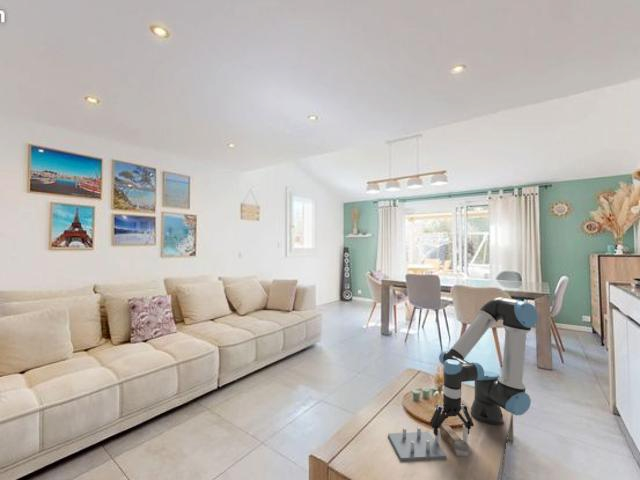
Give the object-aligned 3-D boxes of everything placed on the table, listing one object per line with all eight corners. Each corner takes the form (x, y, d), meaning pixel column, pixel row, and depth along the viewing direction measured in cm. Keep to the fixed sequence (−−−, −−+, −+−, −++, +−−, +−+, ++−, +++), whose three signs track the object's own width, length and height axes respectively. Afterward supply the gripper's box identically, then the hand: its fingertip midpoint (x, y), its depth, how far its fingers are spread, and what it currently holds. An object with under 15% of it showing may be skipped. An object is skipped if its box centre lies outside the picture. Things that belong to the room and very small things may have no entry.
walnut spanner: (438, 433, 141) (438, 423, 141) (448, 432, 142) (448, 423, 142) (457, 456, 126) (457, 445, 126) (468, 455, 126) (468, 445, 126)
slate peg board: (428, 434, 140) (428, 423, 140) (446, 458, 124) (446, 446, 124) (388, 435, 138) (388, 424, 138) (400, 460, 122) (401, 448, 122)
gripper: (472, 390, 140) (471, 435, 140) (422, 391, 138) (421, 437, 137) (482, 398, 133) (481, 445, 132) (430, 400, 130) (429, 448, 130)
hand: (451, 441), depth 135 cm, fingers open, 13 cm apart
